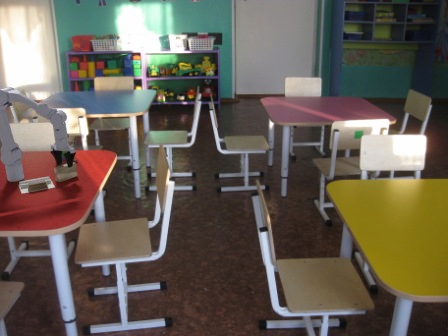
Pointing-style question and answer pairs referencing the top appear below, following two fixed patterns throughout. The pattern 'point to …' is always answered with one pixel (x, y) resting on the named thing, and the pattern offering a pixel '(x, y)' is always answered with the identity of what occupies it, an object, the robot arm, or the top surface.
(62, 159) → the stacking bear
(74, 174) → the birch sheet
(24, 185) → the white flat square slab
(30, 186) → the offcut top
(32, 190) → the offcut bottom
